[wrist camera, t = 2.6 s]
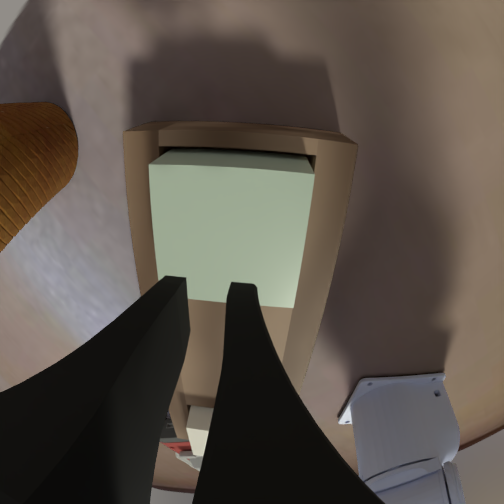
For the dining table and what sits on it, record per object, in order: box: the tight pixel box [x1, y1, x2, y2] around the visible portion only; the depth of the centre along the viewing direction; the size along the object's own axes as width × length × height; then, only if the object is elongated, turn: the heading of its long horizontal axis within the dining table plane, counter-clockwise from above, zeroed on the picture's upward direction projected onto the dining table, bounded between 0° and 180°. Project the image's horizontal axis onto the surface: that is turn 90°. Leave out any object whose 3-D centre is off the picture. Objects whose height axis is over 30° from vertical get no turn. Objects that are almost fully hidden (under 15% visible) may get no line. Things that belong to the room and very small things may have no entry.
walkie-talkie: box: [159, 419, 203, 471], centre depth 32 cm, size 9×4×20 cm
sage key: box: [149, 148, 315, 308], centre depth 13 cm, size 6×6×3 cm
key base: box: [123, 121, 358, 440], centre depth 20 cm, size 10×27×4 cm, turn 176°
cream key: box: [186, 405, 214, 456], centre depth 23 cm, size 6×6×3 cm
